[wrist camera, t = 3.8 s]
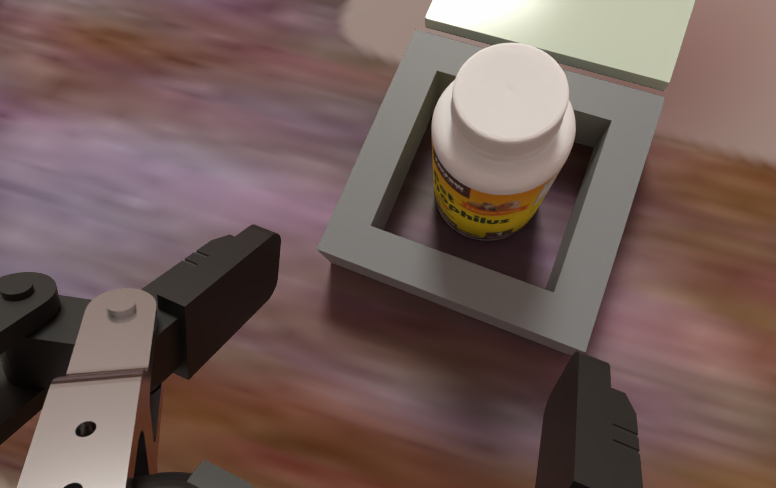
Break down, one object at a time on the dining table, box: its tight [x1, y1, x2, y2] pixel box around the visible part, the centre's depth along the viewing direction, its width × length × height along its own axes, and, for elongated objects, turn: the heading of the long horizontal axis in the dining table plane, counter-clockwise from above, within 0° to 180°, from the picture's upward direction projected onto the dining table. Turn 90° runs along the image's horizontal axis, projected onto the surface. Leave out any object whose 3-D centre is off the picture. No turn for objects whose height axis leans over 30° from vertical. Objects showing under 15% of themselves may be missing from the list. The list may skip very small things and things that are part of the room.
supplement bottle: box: [431, 43, 576, 241], centre depth 21 cm, size 6×6×10 cm
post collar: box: [317, 29, 665, 355], centre depth 25 cm, size 13×13×3 cm
